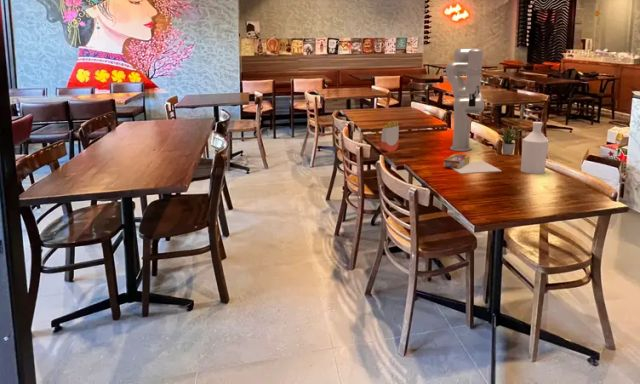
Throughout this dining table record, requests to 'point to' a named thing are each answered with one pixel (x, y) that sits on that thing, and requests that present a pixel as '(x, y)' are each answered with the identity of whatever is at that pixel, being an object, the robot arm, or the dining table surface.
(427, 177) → the dining table surface
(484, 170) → the felt mat
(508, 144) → the house plant
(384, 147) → the french fries container
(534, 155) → the bottle
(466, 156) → the candy box
